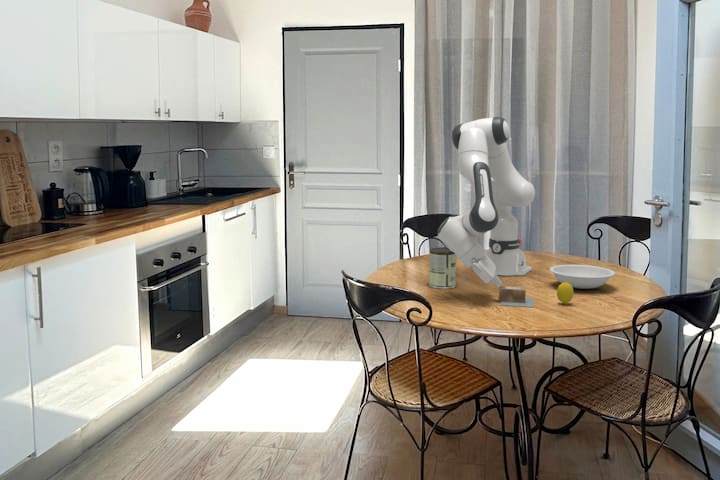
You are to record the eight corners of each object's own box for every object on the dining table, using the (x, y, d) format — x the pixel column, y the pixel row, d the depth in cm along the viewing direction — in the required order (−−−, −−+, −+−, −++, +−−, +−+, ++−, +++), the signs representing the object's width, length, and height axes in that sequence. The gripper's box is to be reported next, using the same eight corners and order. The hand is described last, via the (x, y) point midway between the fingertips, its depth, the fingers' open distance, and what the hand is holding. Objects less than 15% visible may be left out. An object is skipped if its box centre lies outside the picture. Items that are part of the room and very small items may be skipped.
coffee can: (432, 282, 295) (433, 246, 293) (458, 284, 292) (459, 248, 289) (425, 287, 285) (426, 250, 283) (452, 289, 282) (453, 252, 280)
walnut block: (499, 288, 263) (525, 290, 261) (499, 286, 267) (525, 287, 265) (498, 301, 264) (525, 303, 262) (499, 298, 268) (525, 300, 266)
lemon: (554, 302, 264) (555, 280, 262) (569, 302, 264) (570, 279, 263) (559, 306, 258) (560, 283, 257) (575, 306, 259) (576, 283, 257)
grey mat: (500, 305, 259) (500, 304, 259) (501, 296, 272) (501, 295, 272) (533, 307, 257) (533, 306, 256) (533, 297, 270) (533, 297, 270)
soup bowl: (613, 297, 272) (614, 279, 271) (545, 291, 280) (546, 274, 279) (615, 283, 294) (616, 267, 293) (552, 278, 303) (553, 262, 301)
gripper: (478, 255, 254) (506, 285, 254) (481, 245, 274) (508, 273, 274) (464, 268, 256) (492, 297, 256) (469, 257, 276) (495, 284, 275)
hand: (500, 285), depth 265 cm, fingers closed
